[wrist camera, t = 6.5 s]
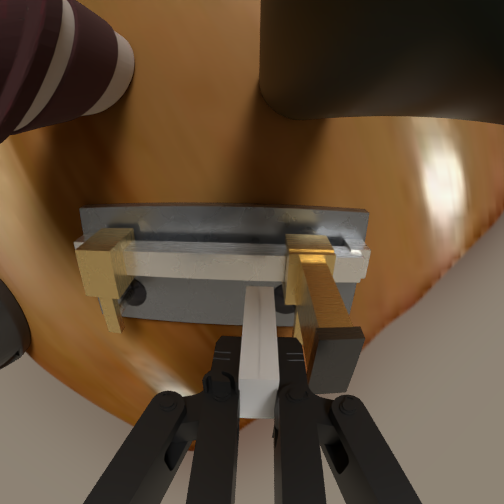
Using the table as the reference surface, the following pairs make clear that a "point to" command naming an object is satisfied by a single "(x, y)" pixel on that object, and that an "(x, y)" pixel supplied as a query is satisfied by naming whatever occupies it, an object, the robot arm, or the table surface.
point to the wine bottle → (383, 58)
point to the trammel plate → (219, 231)
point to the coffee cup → (57, 64)
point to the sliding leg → (320, 314)
